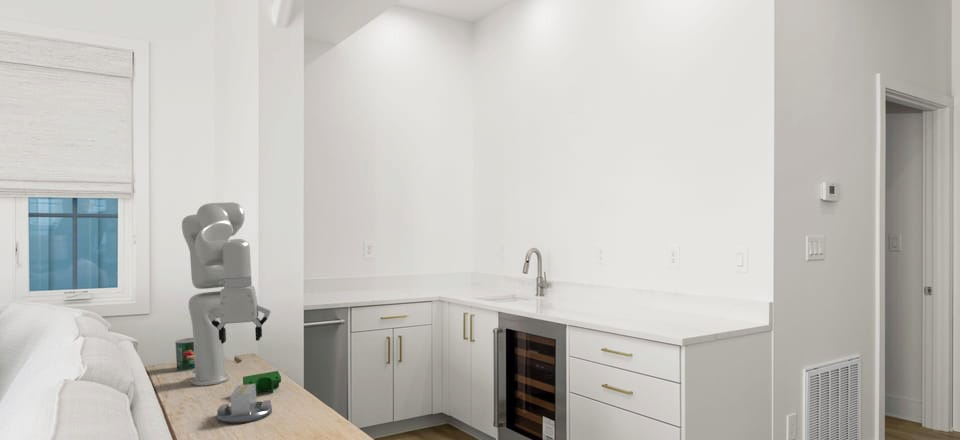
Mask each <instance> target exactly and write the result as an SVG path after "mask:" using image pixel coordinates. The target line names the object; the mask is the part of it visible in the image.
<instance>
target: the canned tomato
mask: <svg viewBox="0 0 960 440" xmlns="http://www.w3.org/2000/svg"><path fill="white" fill-rule="evenodd" d="M175 357H176V359H175V360H176V361H175V362H176V371H177V372H187V371H193V369H195V358H194V341H193V337H187V338H181V339H177V340H176V341H175Z"/></svg>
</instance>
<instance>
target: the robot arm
mask: <svg viewBox="0 0 960 440" xmlns="http://www.w3.org/2000/svg"><path fill="white" fill-rule="evenodd" d="M244 223H245V212H244V209H243V207H242V206H241V204H239V203H238V202H237V203H236V202H210V203H205V204H203V205H201V206H199V208H198V210H197V212H196V213H195V214H191V215H187V216H185V217H184V218H183V219H182V221H181V230H182V231H181V232H182V236H183V238H184V240H185V242H186V244H187V246H188V250H189V258H190V272H191V273H190V276H191V282H192V286H193V287H194V288H196V289H198V290H204V289H205V290H207V289H215V288H216V289H217V288H221V290H217V291H206V292H201V293H196V294H194V295H193V296H191V297H190V298H189V301H188V311H189V315H190V321H191V326H192V338H193V341H194V358H195V369H193V370H191V371H192V373H193V374H194V377H193V378H191V379H190V384H191V385H193V386H198V387H200V386H201V387H202V386H210V385H211V386H212V385H217V384H221V383H225V382H226V381H227V380H229V379H230V374H229V373H226V372H225V359H224V358H225V357H224V344H225V343H226V341H227V336H226V335H227V333H226V332H227V330H226V327H225V325H226V324H237V323H238V324H241V323H253V324H254V325H255V326H256V327H254V329H255V340H256V341H257V342H259V341H260V340H261V338H262V337H263V327H262V326H263V324H264V323H266V322H267V320H268V318H269V316H270V314H271V309H268V308H265V307H263V306H261V305H259V304H258V298H257V293H256V288H255V286H254V285H252V265H251V264H252V263H251V247H250V243H249V242H248V241H246V240H245V239H243V238H242V239H241V238H233V239H230V238H231V237H233V236H235V235H236V234H237V233H238V232H239V230H240V229H241V228H242V227H243V225H244ZM259 312H260V313H262V314H263V317H262V319H261V318H259ZM217 319H219V321H220V322H219V321H218V320H217Z"/></svg>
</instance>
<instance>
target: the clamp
mask: <svg viewBox="0 0 960 440" xmlns="http://www.w3.org/2000/svg"><path fill="white" fill-rule="evenodd" d="M280 383H282V375H281V374H280V372H279V371H278V370H274V371H269V372H262V373H257V374H250V375H246V376H242V385H248V384H256V397H258V393H261V392H265V391H266V392H267V391H270V392H271V394H274V390H277V389H278V388H279V387H280Z"/></svg>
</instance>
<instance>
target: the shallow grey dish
mask: <svg viewBox="0 0 960 440" xmlns="http://www.w3.org/2000/svg"><path fill="white" fill-rule="evenodd" d="M272 413H273V406H272V400H271V399H268V400H263V401H257V404H256V405H255V407H254V409H253V410H252V412H251V414H249V415H239V416H232V410H231V405H229V404H228V403H225V404H221V405H220V406H219V408H217V414H216V415H217V417H216V419H217V422H219V423H220V424H224V425H242V424H249V423H253V422H257V421H261V420H263V419H265V418H267V417H269V416H270V415H271V414H272Z"/></svg>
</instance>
